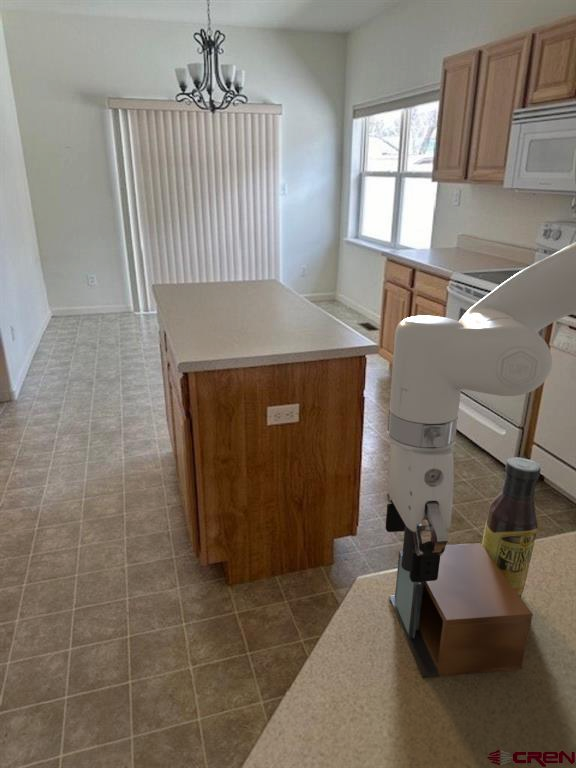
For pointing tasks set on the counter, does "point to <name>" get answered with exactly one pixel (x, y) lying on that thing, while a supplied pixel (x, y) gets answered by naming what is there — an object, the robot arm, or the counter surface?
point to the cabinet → (468, 617)
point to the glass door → (407, 585)
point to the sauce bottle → (513, 522)
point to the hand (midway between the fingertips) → (409, 553)
